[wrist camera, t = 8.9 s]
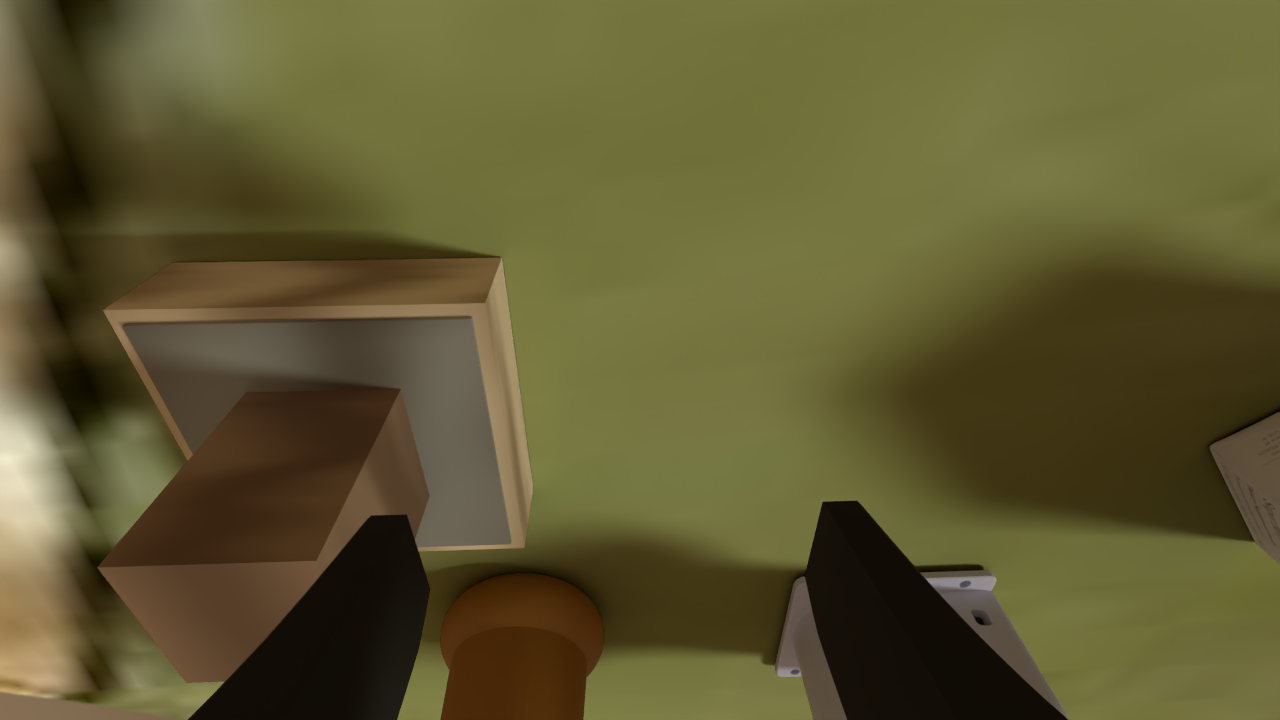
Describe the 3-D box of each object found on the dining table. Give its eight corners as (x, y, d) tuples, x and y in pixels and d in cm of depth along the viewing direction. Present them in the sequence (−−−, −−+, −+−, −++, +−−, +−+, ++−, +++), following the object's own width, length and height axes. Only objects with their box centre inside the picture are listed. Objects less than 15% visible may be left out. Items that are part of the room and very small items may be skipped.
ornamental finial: (474, 664, 31) (425, 575, 27) (615, 647, 31) (587, 554, 27) (437, 855, 24) (364, 775, 20) (617, 835, 24) (580, 750, 20)
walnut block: (400, 389, 17) (316, 561, 12) (429, 496, 20) (368, 675, 15) (245, 392, 17) (97, 567, 12) (293, 499, 20) (186, 682, 15)
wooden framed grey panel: (501, 257, 19) (483, 305, 16) (532, 487, 24) (523, 551, 22) (172, 262, 18) (98, 312, 16) (280, 494, 24) (239, 560, 21)
